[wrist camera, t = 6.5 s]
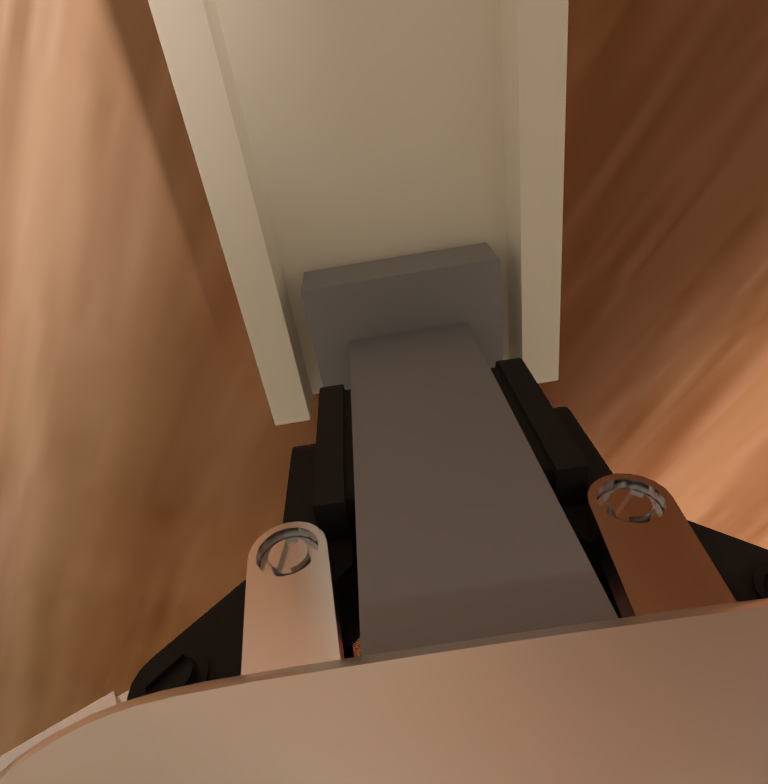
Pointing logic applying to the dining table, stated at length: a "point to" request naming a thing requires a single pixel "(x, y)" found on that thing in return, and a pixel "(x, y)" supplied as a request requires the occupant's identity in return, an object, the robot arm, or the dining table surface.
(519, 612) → the block
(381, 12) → the track
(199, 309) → the dining table surface
